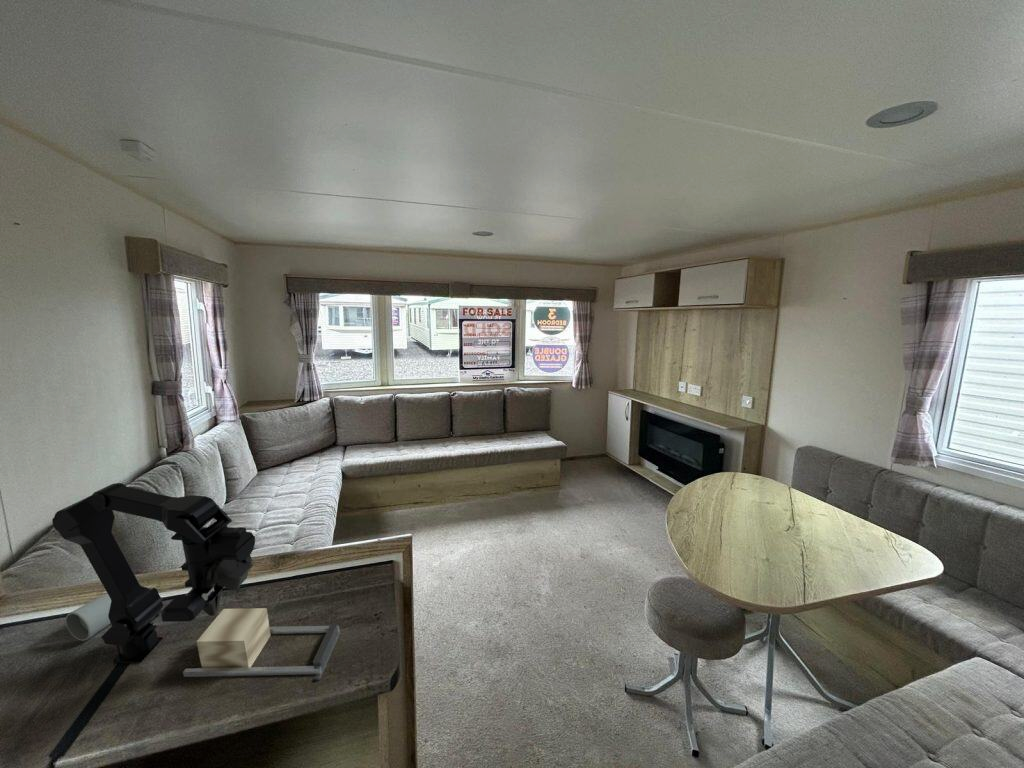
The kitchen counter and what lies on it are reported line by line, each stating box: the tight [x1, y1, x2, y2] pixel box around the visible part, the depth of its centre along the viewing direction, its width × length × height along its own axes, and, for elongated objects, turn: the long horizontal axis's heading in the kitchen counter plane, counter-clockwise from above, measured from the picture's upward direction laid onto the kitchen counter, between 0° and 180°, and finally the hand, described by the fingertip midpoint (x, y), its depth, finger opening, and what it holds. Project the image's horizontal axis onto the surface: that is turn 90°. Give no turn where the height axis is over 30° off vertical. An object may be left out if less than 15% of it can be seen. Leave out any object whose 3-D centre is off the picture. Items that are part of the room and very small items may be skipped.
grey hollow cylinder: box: [65, 593, 111, 642], centre depth 100 cm, size 11×8×8 cm
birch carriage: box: [196, 607, 272, 668], centre depth 92 cm, size 10×9×8 cm
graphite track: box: [182, 623, 341, 681], centre depth 93 cm, size 29×12×4 cm, turn 93°
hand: (213, 614), depth 90 cm, fingers closed
